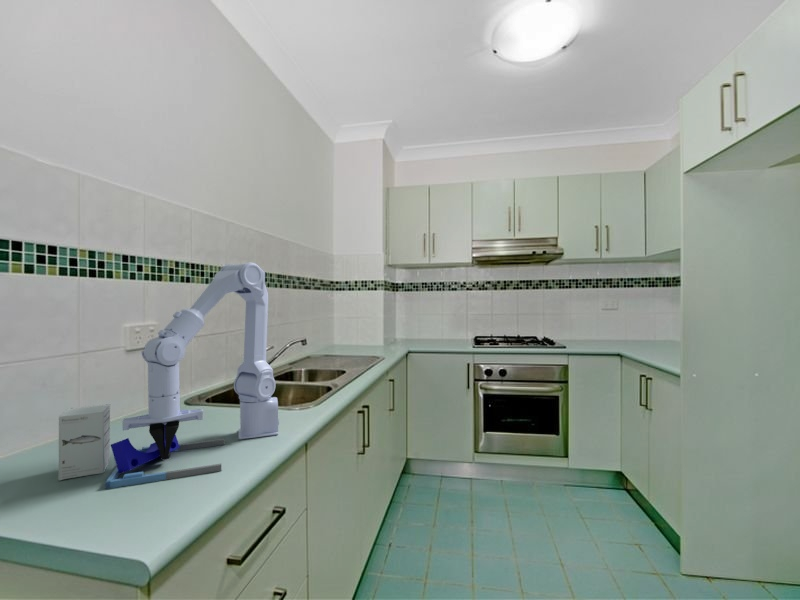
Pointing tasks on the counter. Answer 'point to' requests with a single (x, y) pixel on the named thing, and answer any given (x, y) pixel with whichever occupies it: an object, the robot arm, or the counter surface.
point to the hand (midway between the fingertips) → (165, 457)
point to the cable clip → (136, 454)
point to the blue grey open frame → (140, 478)
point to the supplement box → (84, 441)
